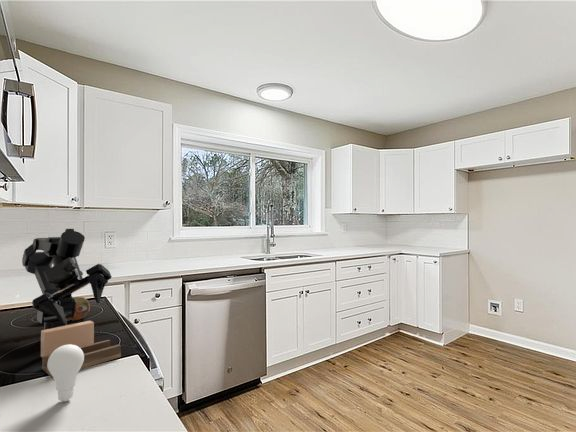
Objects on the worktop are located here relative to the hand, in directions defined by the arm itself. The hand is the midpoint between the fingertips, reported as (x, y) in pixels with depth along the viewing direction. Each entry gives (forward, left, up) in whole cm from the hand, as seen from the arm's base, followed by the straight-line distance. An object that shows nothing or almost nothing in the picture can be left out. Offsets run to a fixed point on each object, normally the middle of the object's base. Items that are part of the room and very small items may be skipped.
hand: (81, 312), depth 89 cm
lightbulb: (+22, -10, -12) cm, 27 cm away
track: (+4, -1, -12) cm, 13 cm away
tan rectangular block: (-8, 0, -12) cm, 14 cm away
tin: (-44, +11, -12) cm, 47 cm away
